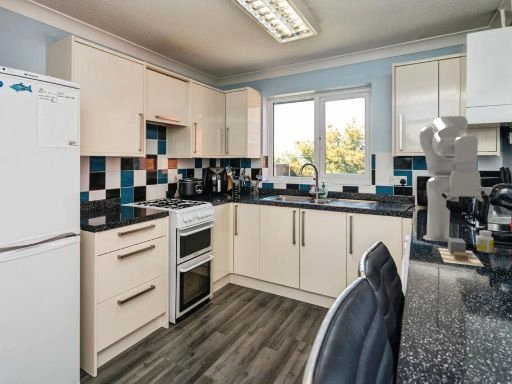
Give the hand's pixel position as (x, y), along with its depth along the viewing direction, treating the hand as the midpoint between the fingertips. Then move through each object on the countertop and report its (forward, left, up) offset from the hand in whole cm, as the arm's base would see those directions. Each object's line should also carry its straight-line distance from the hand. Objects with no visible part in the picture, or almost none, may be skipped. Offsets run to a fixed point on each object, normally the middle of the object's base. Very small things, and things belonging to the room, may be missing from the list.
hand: (463, 210), depth 121 cm
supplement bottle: (-8, +9, -19) cm, 23 cm away
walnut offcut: (+10, -2, -17) cm, 20 cm away
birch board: (+6, -2, -19) cm, 20 cm away
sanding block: (0, -2, -17) cm, 17 cm away
